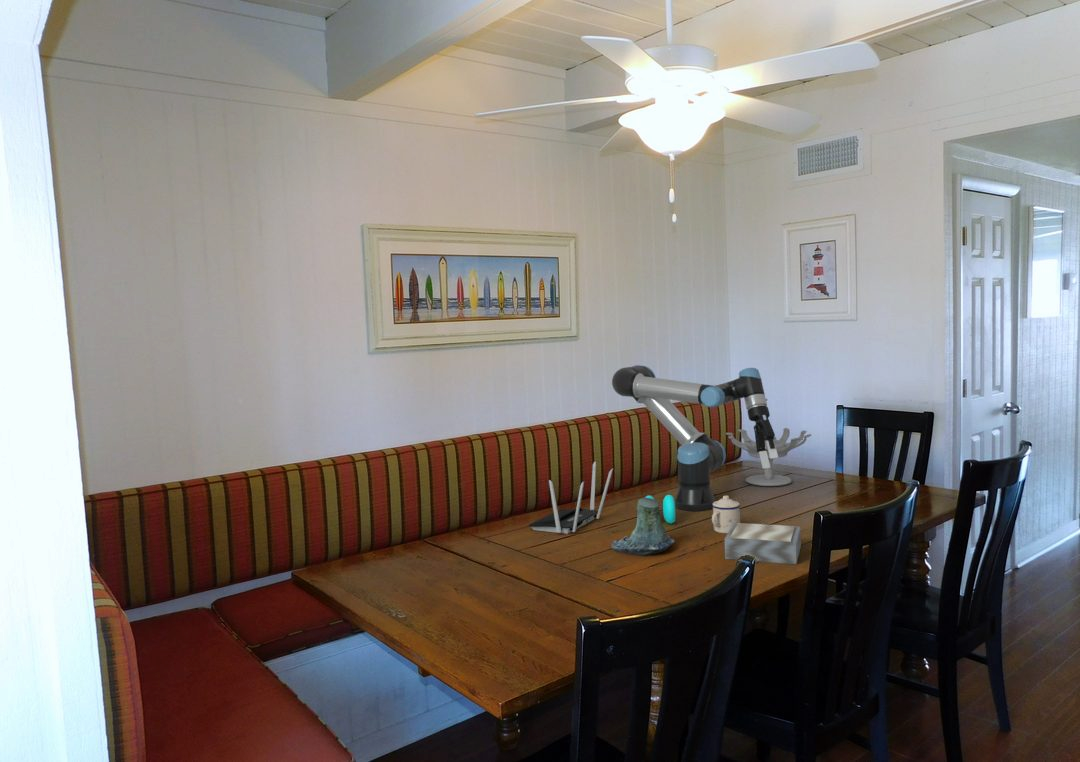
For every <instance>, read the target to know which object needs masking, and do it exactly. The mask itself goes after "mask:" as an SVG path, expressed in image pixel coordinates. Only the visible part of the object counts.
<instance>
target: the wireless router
mask: <svg viewBox="0 0 1080 762" xmlns="http://www.w3.org/2000/svg"><path fill="white" fill-rule="evenodd" d="M596 469H597V462H596V461H593V463H592V471H591V473H592V474H591V486H590V488H591V489H590V502H589V503H590V504H589V509H587V508H583V509H582V508H581V503H582V497H583V491H584V485H585V480H584V481H582V482H581V483H580V486H579V492H578V497H577V503H576V504H577V505H576V508H571V509H568V508H566V509H558V504H557V501H556V495H555V489H554V485H553V482H552V481H551V480H550V479H549V480H548V485H549V491H550V496H551V502H552V503H551V504H552V511H553V512H551V513H550V514H548V515H546V516H543V517H540V519H537V520H535V521H533V522H531V523H530V524H528V526H527V527H530V528H531V529H532V530H533V531H539V532H540V531H541V532H547V533H556V534H557V533H558V534H566V535H568V534H570V533H575V532H576V531H577V530H578V529H579V528H581V527H582V526H584V525H586V524H588V523H590V522H592V521H594V520H595V518H596V519H598V520H599V519H600V517H601V514H602V510H603V507H604V504H605V499H606V496H607V492H608V489H609V485H610V481H611V478H612V474H613V471H614V468H611V469H610V471H608V475H607V479H606V482H605V485H604V490H603V493H602V497H601V500H600V503H599V507H598V509H597V510H596V509H595V497H596V496H595V494H596V491H595V490H596V473H597V472H596Z"/></svg>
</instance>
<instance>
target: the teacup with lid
mask: <svg viewBox="0 0 1080 762" xmlns="http://www.w3.org/2000/svg"><path fill="white" fill-rule="evenodd" d="M729 496H730V495H723V496H722V498H720V499H719V500H715V502H714V503H713V505H712V506H713V508H712V516H711V521H712V522H711V524H713V530H714V532H716V533H719V534H726V535H727V534H728V532H729V531H730V529H731V527H732V526H733V524H734V523H741V517H740V516H741V511H740V510H741V509H740V508H741V504H740V502H738V501H736V500H733V499H732V498H730V497H729Z"/></svg>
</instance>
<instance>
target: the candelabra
mask: <svg viewBox="0 0 1080 762" xmlns="http://www.w3.org/2000/svg"><path fill="white" fill-rule="evenodd" d="M782 430H783V431H782V435H781V437H780V438H779V439H777V437H776V436H774V439H773V440H774V442H775V446H776V450H777V454H778V458H777V459H780V458H784V457H786V456H788V453H789V452H791V451H792V450H794V449H796V448H798V447H801V446H802V445H804V444H805V443H806V441H807V438H810V437H811V436H812V434H811V433H810V434H809V433H808V434H806V433H807V432H808V431H807V430H805V429H804V430H802V431H800V435H799V437H793V438H791V439H790V442H787V440H788V439H789V438H790V434H791V432H790V428H788V427H784V428H783V429H782ZM736 431H737V432H738V433H741V435H740V436H741V438H742V439H743V440H744V441H743V442H741V441H739V440H737V439H736V438H735V437H734V433H733V432H725V435H727V436H728V439H729V440H731V443H732V444H733V445H734V446H736V447H738V448H739V449H742V450H744V451H746V452H747V453H748V455H749V456H750V457H753V458H758V459H760V456H759V452H757V448H756V441H754V440H752V439H751V438H750V437H749V436H748V432H747V430H745V429H739V428H738V429H737V430H736ZM766 441H768V440H765V449H767V455H768V460H769V464H770V468H767V469H763V470H764V471H763V474H755V475H751V476H748V477H746V478H745V482H746V483H748V484H750V485H753V486H760V487H781V486H786V485H789V484H791V483H792V482H793V480H792V478H791V477H789V476H787V475H780V474H773V461H774V459H770V456H769V452H768V448H767V444H766Z"/></svg>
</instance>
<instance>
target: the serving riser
mask: <svg viewBox="0 0 1080 762" xmlns="http://www.w3.org/2000/svg"><path fill="white" fill-rule="evenodd" d="M801 527H802V526H795V525H780V524H763V523H762V524H760V523H746V522H745V523H743V522H740V523H734V524H733V526H732V527H731V529H730V531H729V532H728V534H726V536H725V537H724V558H725V560H737V561H739V560H738V559H739V558H740V557H741V556H745V555H750V556H753V557H755V559H756V561H755V562H764V563H775V564H788V565H789V564H790V565H797V563H798V559H799V556H800V550H801V547H802V541H801V540H802V538H801V537H802V535H801V533H802V532H801V530H802V529H801Z"/></svg>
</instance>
